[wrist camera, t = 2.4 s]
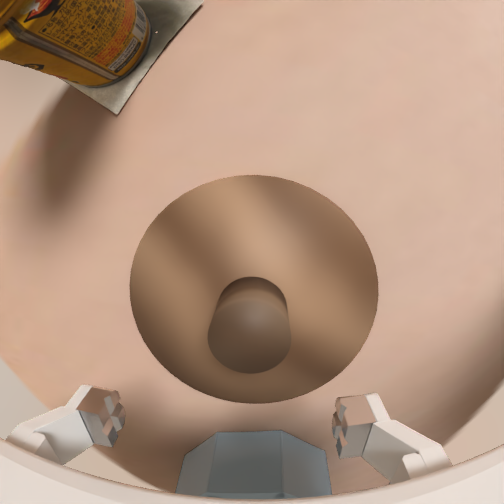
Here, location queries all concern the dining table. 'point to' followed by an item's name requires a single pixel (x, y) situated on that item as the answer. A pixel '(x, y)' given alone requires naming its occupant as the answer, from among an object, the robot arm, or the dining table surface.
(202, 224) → the lid
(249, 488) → the bowl
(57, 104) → the dining table surface
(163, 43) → the condiment
